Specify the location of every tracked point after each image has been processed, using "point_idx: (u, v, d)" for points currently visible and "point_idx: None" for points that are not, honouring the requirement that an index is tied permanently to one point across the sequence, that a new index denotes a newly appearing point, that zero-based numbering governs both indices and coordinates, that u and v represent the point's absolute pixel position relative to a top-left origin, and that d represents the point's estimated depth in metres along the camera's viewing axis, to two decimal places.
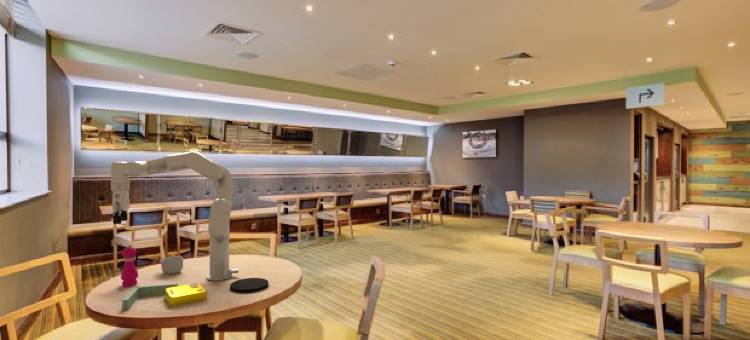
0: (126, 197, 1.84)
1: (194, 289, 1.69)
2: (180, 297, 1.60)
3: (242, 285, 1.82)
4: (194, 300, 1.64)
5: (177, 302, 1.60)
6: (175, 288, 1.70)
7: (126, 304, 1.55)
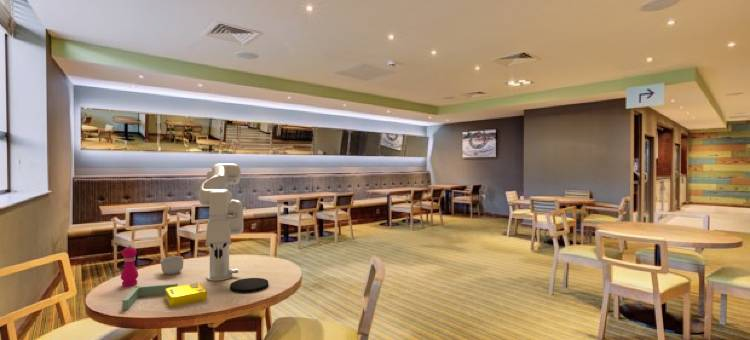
0: None
1: (194, 289, 1.69)
2: (180, 297, 1.60)
3: (242, 285, 1.82)
4: (194, 300, 1.64)
5: (177, 302, 1.60)
6: (175, 288, 1.70)
7: (126, 304, 1.55)
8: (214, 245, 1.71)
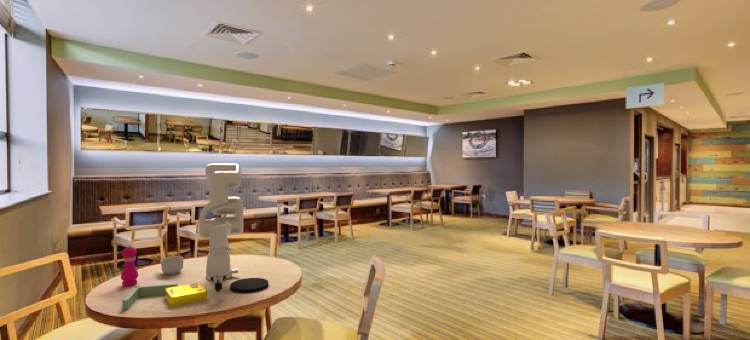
0: None
1: (194, 289, 1.69)
2: (180, 297, 1.61)
3: (242, 285, 1.82)
4: (194, 300, 1.64)
5: (178, 302, 1.60)
6: (175, 288, 1.70)
7: (126, 304, 1.55)
8: (214, 278, 1.71)
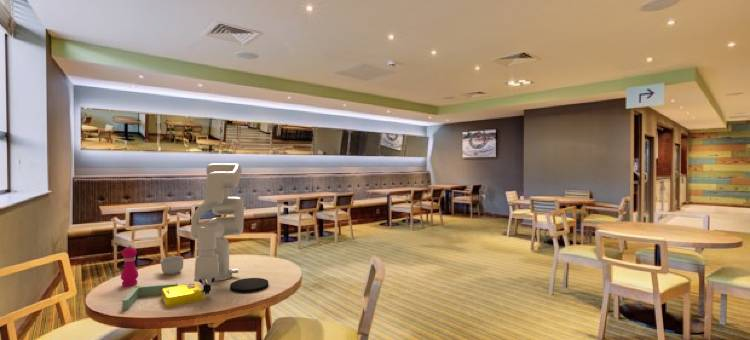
0: None
1: (191, 289, 1.68)
2: (176, 297, 1.60)
3: (242, 285, 1.82)
4: (190, 300, 1.63)
5: (173, 302, 1.59)
6: (172, 288, 1.69)
7: (126, 304, 1.55)
8: (203, 280, 1.69)
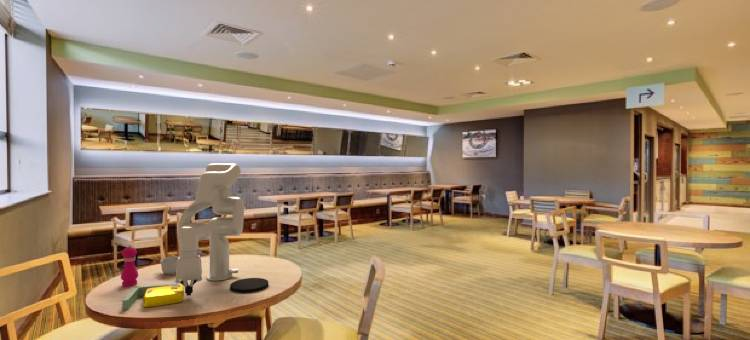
0: None
1: (172, 290, 1.66)
2: (154, 297, 1.58)
3: (242, 285, 1.82)
4: (168, 301, 1.60)
5: (151, 302, 1.58)
6: (156, 288, 1.69)
7: (126, 304, 1.55)
8: (185, 282, 1.67)
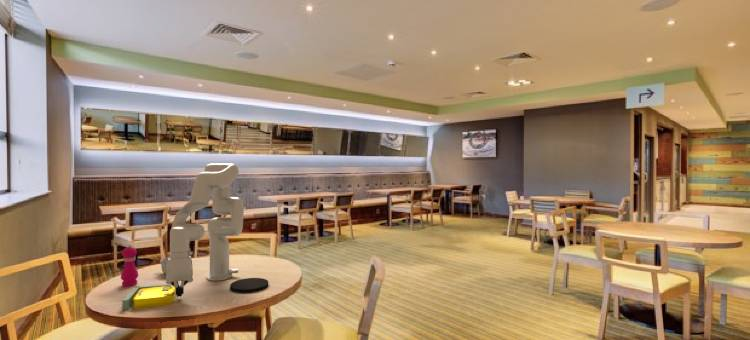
0: None
1: (163, 292, 1.64)
2: (143, 300, 1.57)
3: (242, 285, 1.82)
4: (158, 304, 1.59)
5: (140, 305, 1.56)
6: (148, 289, 1.68)
7: (126, 304, 1.55)
8: (175, 283, 1.66)
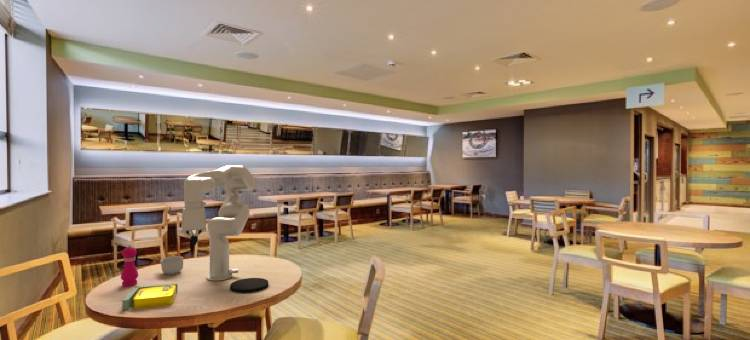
0: None
1: (163, 292, 1.64)
2: (143, 300, 1.57)
3: (242, 285, 1.82)
4: (158, 304, 1.59)
5: (140, 305, 1.56)
6: (148, 289, 1.68)
7: (126, 304, 1.55)
8: (190, 232, 1.73)
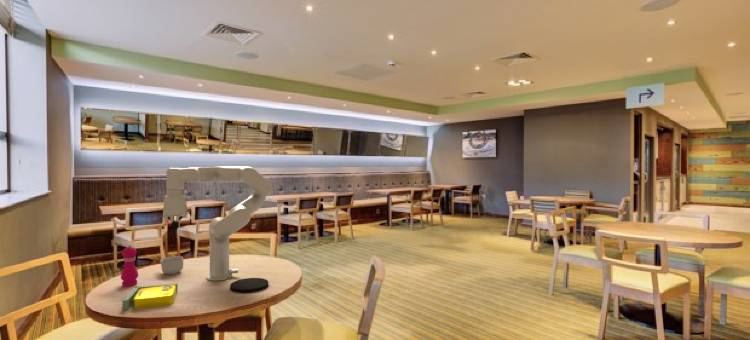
0: None
1: (163, 292, 1.65)
2: (143, 300, 1.57)
3: (242, 285, 1.82)
4: (158, 304, 1.59)
5: (140, 305, 1.57)
6: (148, 289, 1.68)
7: (126, 304, 1.55)
8: (171, 217, 1.85)
